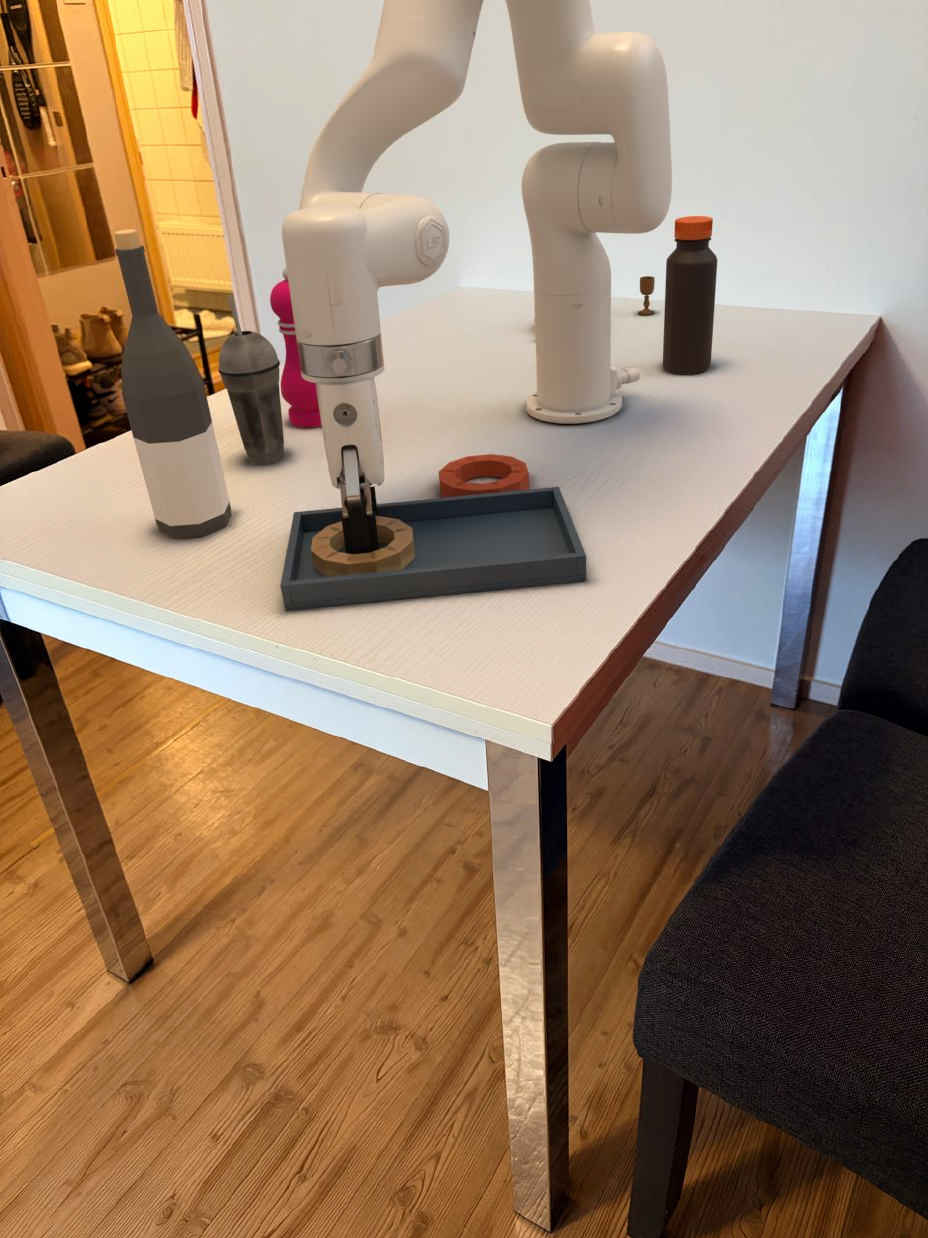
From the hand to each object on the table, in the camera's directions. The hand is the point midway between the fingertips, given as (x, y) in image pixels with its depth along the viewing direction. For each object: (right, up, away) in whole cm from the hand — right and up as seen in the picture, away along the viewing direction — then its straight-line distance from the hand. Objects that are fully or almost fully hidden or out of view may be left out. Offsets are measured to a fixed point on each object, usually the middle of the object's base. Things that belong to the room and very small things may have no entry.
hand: (362, 536), depth 95 cm
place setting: (+32, +40, +65) cm, 83 cm away
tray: (+7, -2, -1) cm, 7 cm away
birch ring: (0, -2, -2) cm, 3 cm away
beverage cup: (-15, +12, +24) cm, 31 cm away
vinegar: (+42, +28, +43) cm, 66 cm away
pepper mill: (-10, +19, +35) cm, 41 cm away
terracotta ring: (+12, +6, +12) cm, 18 cm away
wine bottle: (-19, +2, +9) cm, 22 cm away
